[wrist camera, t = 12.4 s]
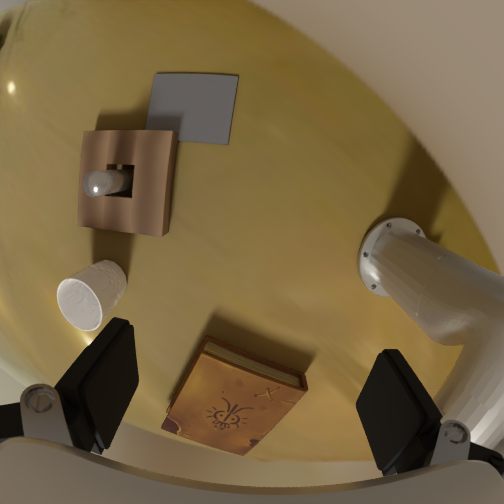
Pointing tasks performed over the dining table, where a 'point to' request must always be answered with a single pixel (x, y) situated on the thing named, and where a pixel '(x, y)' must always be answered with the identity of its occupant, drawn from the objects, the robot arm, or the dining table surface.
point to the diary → (232, 398)
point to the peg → (107, 182)
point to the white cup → (91, 294)
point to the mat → (193, 106)
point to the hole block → (144, 183)
